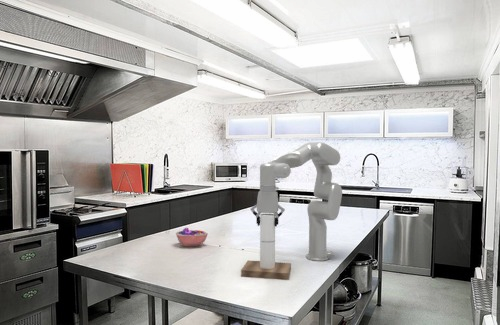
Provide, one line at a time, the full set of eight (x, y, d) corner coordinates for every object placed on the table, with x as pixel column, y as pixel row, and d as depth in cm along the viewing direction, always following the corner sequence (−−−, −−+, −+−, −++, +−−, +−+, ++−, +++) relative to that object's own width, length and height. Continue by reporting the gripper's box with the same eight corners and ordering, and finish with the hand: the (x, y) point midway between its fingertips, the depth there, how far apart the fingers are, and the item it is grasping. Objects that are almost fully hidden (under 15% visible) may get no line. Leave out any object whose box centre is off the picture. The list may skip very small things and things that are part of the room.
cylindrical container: (266, 269, 166) (266, 216, 166) (257, 265, 172) (257, 214, 172) (277, 266, 170) (278, 215, 170) (268, 263, 176) (268, 213, 176)
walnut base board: (290, 269, 177) (291, 263, 177) (288, 279, 161) (288, 273, 161) (247, 266, 181) (247, 260, 181) (241, 276, 165) (241, 270, 165)
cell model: (202, 250, 211) (202, 231, 211) (170, 248, 215) (171, 229, 215) (211, 243, 228) (211, 226, 227) (181, 242, 232) (181, 224, 231)
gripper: (286, 188, 173) (286, 224, 173) (251, 188, 176) (251, 223, 176) (285, 190, 165) (284, 228, 166) (248, 189, 169) (248, 226, 169)
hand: (267, 225), depth 171 cm, fingers open, 7 cm apart
